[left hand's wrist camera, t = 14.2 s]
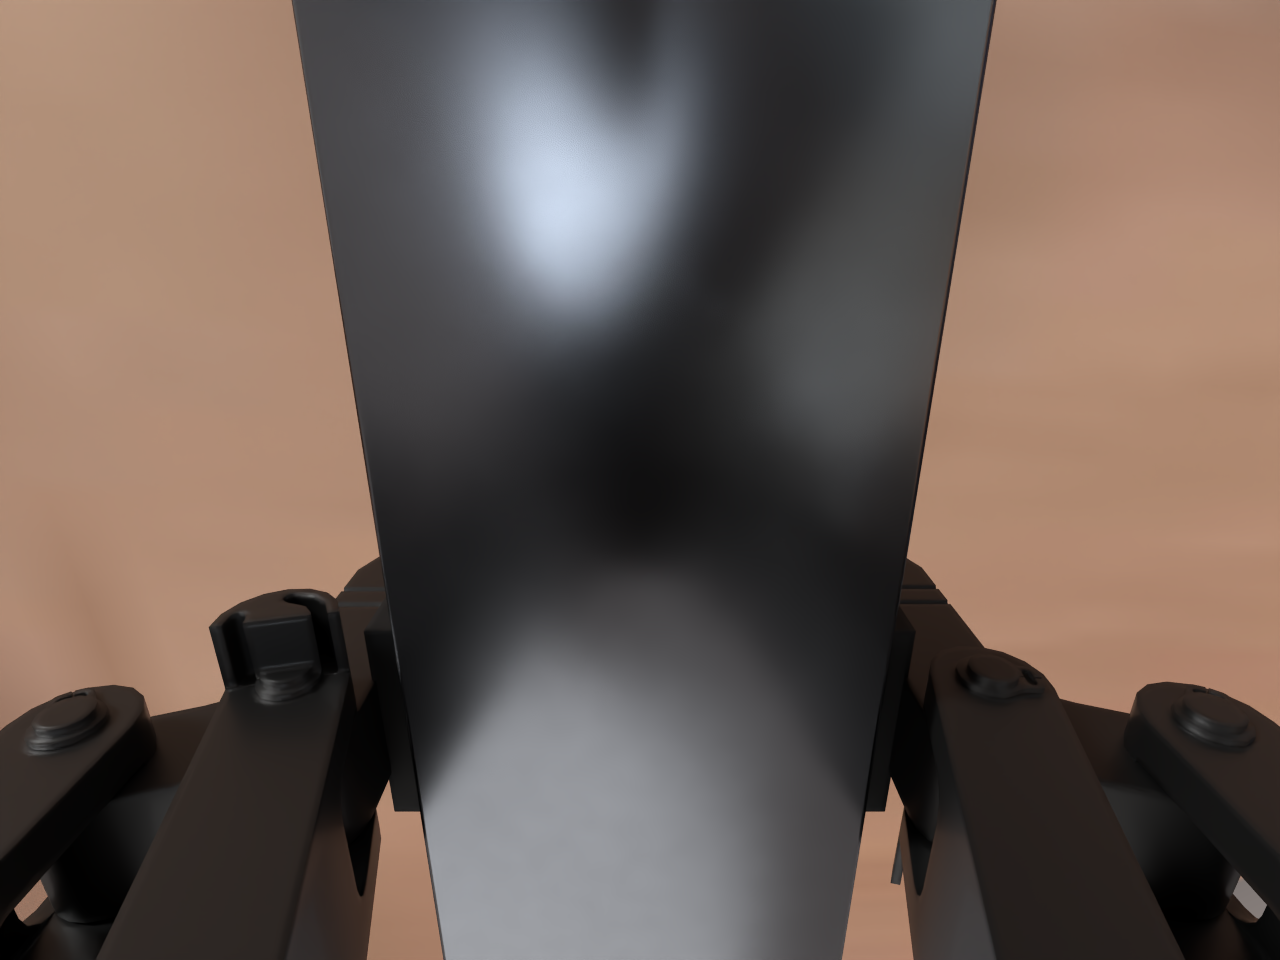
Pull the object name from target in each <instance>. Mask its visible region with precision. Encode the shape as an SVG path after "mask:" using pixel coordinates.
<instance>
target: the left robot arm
mask: <svg viewBox="0 0 1280 960" xmlns="http://www.w3.org/2000/svg"><path fill="white" fill-rule="evenodd" d="M209 630H210V634H211V637H212V641H213V645H214V648H215V652H216V656H217V660H218V663H219V667H220V671H221V674H222V678H223V682H224V686H225V689H226V690H225V692H224V694H223V696H222V698H221V700H220V702H217V703H214V704H210V705H206V706H201V707H196V708H191V709H186V710H181V711H177V712H172V713H167V714H162V715H157V716H152V717H150V714H149V711H148V708H147V705H146V702H145V699H144V696H143V695H142V694H140V693H139V692H138V691H137V690H135V689H134V688H131V687H125V686H118V685H109V686H100V687H91V688H85V689H80V690H75V692H69V693H66V694H63V695H60V696H57V697H55V698H53V699H52V700H50V701H48V702H46V703H44V704H41V705H39V706H37V707H35V708H33V709H31V710H29V711H28V712H26V713H25V714H23V715H22V716H20V717H19V718H17V719H16V720H14V721H13V722H11V723H10V724H8V725H7V726H5V727H4V728H3V729H2V730H1V731H0V960H367V952H368V943H369V935H370V927H371V918H372V910H373V902H374V893H375V885H376V877H377V868H378V860H379V852H380V843H381V835H380V827H379V821H378V816H377V810H376V807H377V805H378V803H379V801H380V798H381V796H382V794H383V791H384V789H385V787H386V785H387V782H388V780H389V782H390V787H391V793H392V799H393V805H394V810H395V811H420V807H419V801H418V795H417V788H416V782H415V776H414V769H413V763H412V757H411V750H410V744H409V738H408V732H407V725H406V719H405V713H404V706H403V700H402V694H401V687H400V681H399V675H398V668H397V662H396V656H395V649H394V643H393V637H392V630H391V624H390V618H389V612H388V605H387V599H386V593H385V586H384V580H383V574H382V567H381V561H380V557H378V558H376V559H375V560H373V561H372V562H370V563H368V564H367V565H365V566H364V567H362V568H360V569H359V570H358V571H357V572H356V573H355V575H354V576H353V577H352V578H351V580H350V581H349V582H348V584H347V585H346V586H345V587H344V591H341V593H340V594H339V595H338V596H337V598H336V599H335V598H334V597H332V596H331V595H330V594H329V593H327V592H322V591H318V590H313V589H287V590H282V591H277V592H272V593H267V594H263V595H260V596H257V597H255V598H252V599H249V600H247V601H244V602H241V603H239V604H238V605H236V606H234V607H232V608H231V609H229V610H227V611H226V612H224V613H222V614H221V615H220V616H219V617H218V618H217V619H216V620H215V621H214V622H213V623H212V624H211V625H210V626H209ZM891 778H892V780H893V782H894V784H895V787H896V789H897V791H898V794H899V796H900V798H901V800H902V803H903V805H904V810H903V816H902V821H901V827H900V832H899V837H898V843H897V848H896V853H895V859H894V864H893V870H892V877H891V883H893V884H898V885H900V883H901V878H902V872H903V875H904V883H905V892H906V900H907V908H908V916H909V925H910V933H911V941H912V950H913V958H914V960H1280V727H1279V726H1278V725H1277V724H1276V723H1275V722H1273V721H1272V720H1270V719H1269V718H1267V717H1266V716H1264V715H1263V714H1261V713H1260V712H1258V711H1257V710H1255V709H1254V708H1252V707H1250V706H1249V705H1247V704H1244V703H1242V702H1240V701H1238V700H1235V699H1233V698H1231V697H1229V696H1228V695H1226V694H1224V693H1222V692H1219V691H1216V690H1213V689H1210V688H1209V689H1206V688H1205V687H1202V686H1197V685H1193V684H1183V683H1174V682H1161V683H1154V684H1147V685H1146V686H1145V687H1144V688H1142V689H1141V690H1140V691H1138V692H1137V694H1136V697H1135V700H1134V703H1133V706H1132V709H1131V712H1130V714H1129V713H1124V712H1119V711H1114V710H1109V709H1104V708H1099V707H1094V706H1089V705H1084V704H1079V703H1074V702H1070V701H1067V700H1063V699H1059V697H1058V695H1057V692H1056V690H1055V688H1054V687H1053V686H1052V685H1051V683H1050V682H1049V681H1048V680H1047V678H1046V677H1045V676H1044V675H1043V674H1042V673H1041V672H1039V671H1038V670H1036V669H1035V668H1033V667H1032V666H1031V665H1029V664H1028V663H1026V662H1025V661H1022V660H1020V659H1018V658H1015V657H1013V656H1011V655H1008V654H1006V653H1004V652H1000V651H996V650H992V649H987V648H984V646H983V645H982V644H981V643H980V641H979V640H978V639H977V638H976V636H975V635H974V634H973V632H972V631H971V630H970V629H969V627H968V626H967V625H966V623H965V622H964V621H963V620H962V618H961V617H960V616H959V615H958V613H957V612H956V611H955V609H954V608H953V607H952V606H951V604H948V603H947V599H946V598H945V597H944V595H943V594H942V593H941V592H940V590H939V589H936V585H935V584H934V583H933V581H932V580H931V579H930V578H929V576H928V575H927V574H926V572H925V571H924V570H923V569H922V567H920V566H918V565H917V564H915V563H913V562H912V561H910V560H909V559H907V558H906V564H905V571H904V577H903V583H902V589H901V595H900V601H899V608H898V614H897V620H896V626H895V632H894V639H893V645H892V651H891V657H890V663H889V670H888V676H887V682H886V688H885V694H884V701H883V707H882V713H881V719H880V725H879V732H878V738H877V744H876V750H875V756H874V762H873V769H872V775H871V781H870V787H869V793H868V800H867V806H866V811H885V808H886V802H887V796H888V790H889V784H890V779H891ZM1240 876H1242V877H1243V879H1244V880H1245V881H1246V882H1247V883H1248V884H1249V885H1250V886H1251V887H1252V889H1253V890H1254V891H1255V892H1256V893H1257V894H1258V895H1259V896H1260V897H1261V899H1262V900H1263V901H1264V902H1265V903H1266V904H1267V906H1266V908H1265V911H1264V913H1263V915H1262V916H1261V917H1260V918H1259V919H1258V918H1256V917H1254V916H1253V915H1252V914H1251V913H1250V912H1249V911H1248V910H1247V909H1246V908H1245V907H1244V906H1243V905H1242V904H1241V903H1240V901H1239V900H1238V899H1237V898H1236V897H1235V896H1234V895H1233V892H1234V889H1235V887H1236V885H1237V883H1238V880H1239V878H1240ZM39 880H41V882H42V884H43V886H44V889H45V891H46V893H47V896H48V897H47V898H46V899H45V900H44V902H43V903H42V904H41V905H40V906H39V907H38V909H37V910H36V911H35V912H34V913H32V914H31V915H30V916H29V917H28V918H26V919H25V920H24V921H23V922H22V921H21V920H19V919H18V916H17V914H16V912H15V910H14V908H15V907H16V906H17V905H18V903H19V902H20V901H21V900H22V899H23V898H24V897H25V896H26V894H27V893H28V892H29V891H30V890H31V889H32V888H33V887H34V885H35V884H36V883H37V882H38V881H39Z"/></svg>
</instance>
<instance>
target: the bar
mask: <svg viewBox="0 0 1280 960" xmlns="http://www.w3.org/2000/svg"><path fill="white" fill-rule="evenodd" d="M996 1H997V0H292V5H293V11H294V18H295V24H296V30H297V37H298V43H299V49H300V56H301V62H302V68H303V75H304V81H305V87H306V94H307V100H308V106H309V113H310V119H311V125H312V131H313V138H314V144H315V150H316V157H317V163H318V169H319V176H320V182H321V188H322V195H323V201H324V207H325V214H326V220H327V226H328V233H329V239H330V245H331V251H332V258H333V264H334V270H335V277H336V283H337V289H338V296H339V302H340V308H341V315H342V321H343V327H344V334H345V340H346V346H347V353H348V359H349V365H350V372H351V378H352V384H353V390H354V397H355V403H356V409H357V416H358V422H359V428H360V435H361V441H362V447H363V454H364V460H365V466H366V473H367V479H368V485H369V492H370V498H371V504H372V510H373V517H374V523H375V529H376V536H377V542H378V548H379V555H380V561H381V567H382V574H383V580H384V586H385V593H386V599H387V605H388V612H389V618H390V624H391V630H392V637H393V643H394V649H395V656H396V662H397V668H398V675H399V681H400V687H401V694H402V700H403V706H404V713H405V719H406V725H407V732H408V738H409V744H410V750H411V757H412V763H413V769H414V776H415V782H416V788H417V795H418V801H419V807H420V814H421V820H422V826H423V833H424V839H425V845H426V852H427V858H428V864H429V870H430V877H431V883H432V889H433V896H434V902H435V908H436V915H437V921H438V927H439V934H440V940H441V946H442V953H443V959H444V960H842V954H843V948H844V942H845V936H846V930H847V923H848V917H849V911H850V905H851V899H852V893H853V886H854V880H855V874H856V868H857V862H858V855H859V849H860V843H861V837H862V831H863V824H864V818H865V812H866V806H867V800H868V793H869V787H870V781H871V775H872V769H873V762H874V756H875V750H876V744H877V738H878V732H879V725H880V719H881V713H882V707H883V701H884V694H885V688H886V682H887V676H888V670H889V663H890V657H891V651H892V645H893V639H894V632H895V626H896V620H897V614H898V608H899V601H900V595H901V589H902V583H903V577H904V571H905V564H906V558H907V552H908V546H909V540H910V533H911V527H912V521H913V515H914V509H915V502H916V496H917V490H918V484H919V478H920V471H921V465H922V459H923V453H924V447H925V440H926V434H927V428H928V422H929V416H930V410H931V403H932V397H933V391H934V385H935V379H936V372H937V366H938V360H939V354H940V348H941V341H942V335H943V329H944V323H945V317H946V310H947V304H948V298H949V292H950V286H951V279H952V273H953V267H954V261H955V255H956V249H957V242H958V236H959V230H960V224H961V218H962V211H963V205H964V199H965V193H966V187H967V180H968V174H969V168H970V162H971V156H972V149H973V143H974V137H975V131H976V125H977V118H978V112H979V106H980V100H981V94H982V88H983V81H984V75H985V69H986V63H987V57H988V50H989V44H990V38H991V32H992V26H993V19H994V13H995V7H996Z"/></svg>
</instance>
